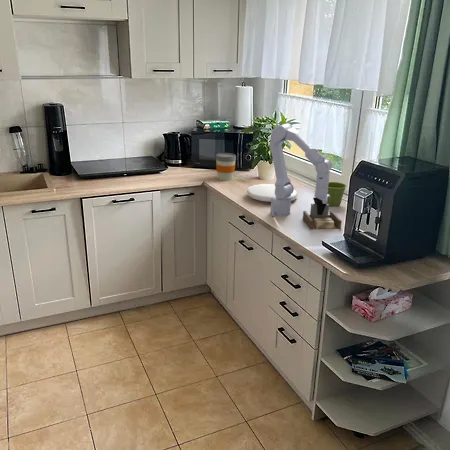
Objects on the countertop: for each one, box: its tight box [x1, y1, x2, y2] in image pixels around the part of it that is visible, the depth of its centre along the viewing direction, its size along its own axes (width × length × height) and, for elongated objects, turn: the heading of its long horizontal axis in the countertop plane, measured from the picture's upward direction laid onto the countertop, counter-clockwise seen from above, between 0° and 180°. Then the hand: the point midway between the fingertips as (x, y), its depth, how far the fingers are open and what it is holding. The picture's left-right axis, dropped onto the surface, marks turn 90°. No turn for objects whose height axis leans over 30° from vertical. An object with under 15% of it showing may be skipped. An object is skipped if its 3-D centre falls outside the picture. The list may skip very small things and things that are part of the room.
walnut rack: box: [302, 210, 342, 230], centre depth 216 cm, size 14×14×5 cm
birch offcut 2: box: [315, 221, 334, 230], centre depth 212 cm, size 8×2×3 cm, turn 95°
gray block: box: [309, 203, 330, 217], centre depth 220 cm, size 8×2×8 cm, turn 95°
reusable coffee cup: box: [215, 152, 237, 181], centre depth 289 cm, size 13×13×15 cm
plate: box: [246, 183, 298, 203], centre depth 255 cm, size 28×6×27 cm
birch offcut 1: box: [313, 218, 332, 226], centre depth 214 cm, size 8×2×3 cm, turn 95°
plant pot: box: [327, 181, 347, 208], centre depth 244 cm, size 12×12×11 cm
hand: (319, 213), depth 220 cm, fingers closed on gray block, 2 cm apart
